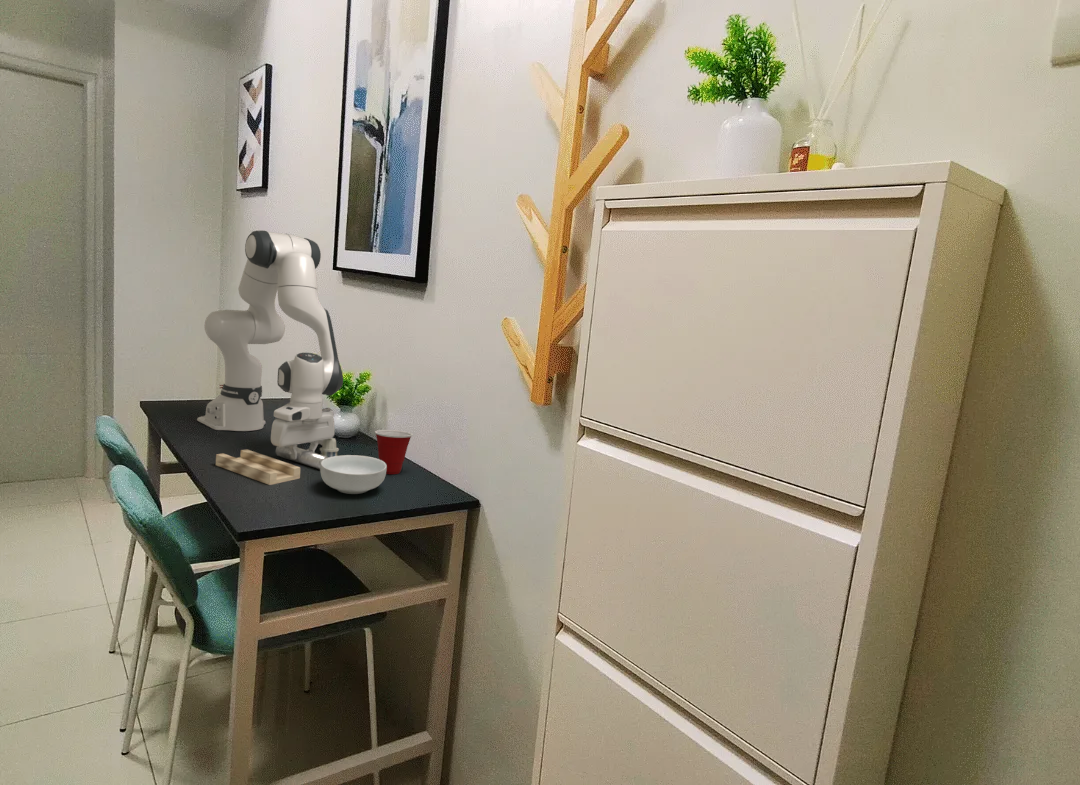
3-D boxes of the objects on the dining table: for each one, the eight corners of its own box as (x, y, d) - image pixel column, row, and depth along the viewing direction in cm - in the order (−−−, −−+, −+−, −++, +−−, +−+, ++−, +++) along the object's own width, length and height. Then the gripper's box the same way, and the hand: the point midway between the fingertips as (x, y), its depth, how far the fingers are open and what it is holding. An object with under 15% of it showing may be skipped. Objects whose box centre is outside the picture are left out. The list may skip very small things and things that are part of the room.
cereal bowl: (310, 481, 176) (312, 456, 175) (370, 477, 186) (372, 453, 185) (330, 502, 163) (333, 474, 162) (394, 497, 172) (397, 470, 171)
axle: (275, 457, 194) (276, 444, 194) (286, 455, 198) (287, 442, 197) (319, 471, 186) (320, 457, 185) (329, 469, 189) (330, 455, 189)
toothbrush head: (323, 427, 220) (341, 436, 199) (322, 447, 221) (340, 458, 199) (306, 427, 218) (323, 436, 196) (306, 448, 218) (322, 458, 196)
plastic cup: (408, 467, 200) (412, 428, 199) (409, 477, 190) (413, 437, 188) (371, 465, 198) (375, 425, 196) (370, 475, 188) (374, 434, 186)
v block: (215, 465, 180) (216, 454, 180) (246, 459, 188) (246, 449, 188) (269, 485, 170) (270, 473, 169) (299, 478, 178) (300, 467, 177)
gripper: (326, 405, 200) (322, 449, 202) (268, 411, 182) (265, 460, 184) (341, 409, 197) (337, 454, 199) (284, 416, 179) (281, 465, 181)
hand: (302, 457), depth 192 cm, fingers closed on axle, 4 cm apart
